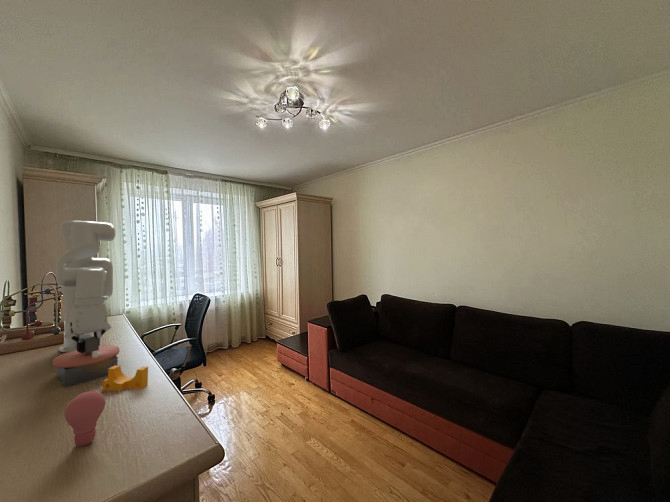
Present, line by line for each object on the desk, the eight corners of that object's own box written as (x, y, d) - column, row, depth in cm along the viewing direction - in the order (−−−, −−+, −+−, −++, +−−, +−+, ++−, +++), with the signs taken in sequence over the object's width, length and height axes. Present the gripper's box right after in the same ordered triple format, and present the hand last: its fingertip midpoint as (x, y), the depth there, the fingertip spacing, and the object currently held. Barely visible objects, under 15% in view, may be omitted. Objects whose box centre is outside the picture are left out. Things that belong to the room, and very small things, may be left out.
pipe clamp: (102, 390, 87) (103, 371, 87) (114, 383, 91) (114, 365, 91) (137, 391, 86) (138, 372, 86) (147, 385, 90) (148, 366, 91)
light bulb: (82, 433, 66) (83, 386, 66) (111, 432, 67) (113, 385, 67) (54, 455, 59) (55, 402, 59) (88, 453, 60) (89, 401, 60)
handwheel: (45, 359, 94) (46, 340, 94) (108, 345, 110) (109, 328, 110) (61, 372, 85) (62, 350, 85) (127, 354, 100) (128, 335, 100)
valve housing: (57, 375, 96) (57, 359, 96) (106, 363, 107) (106, 348, 107) (64, 387, 87) (65, 370, 87) (117, 372, 99) (117, 357, 99)
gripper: (110, 297, 106) (109, 342, 106) (54, 304, 91) (52, 356, 91) (120, 299, 103) (119, 345, 103) (64, 306, 88) (62, 360, 88)
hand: (88, 350), depth 97 cm, fingers closed on handwheel, 3 cm apart
